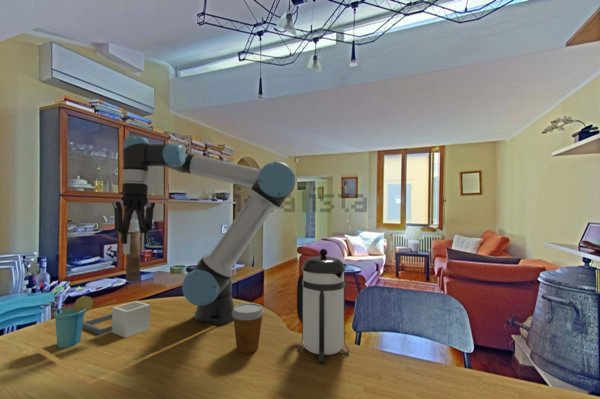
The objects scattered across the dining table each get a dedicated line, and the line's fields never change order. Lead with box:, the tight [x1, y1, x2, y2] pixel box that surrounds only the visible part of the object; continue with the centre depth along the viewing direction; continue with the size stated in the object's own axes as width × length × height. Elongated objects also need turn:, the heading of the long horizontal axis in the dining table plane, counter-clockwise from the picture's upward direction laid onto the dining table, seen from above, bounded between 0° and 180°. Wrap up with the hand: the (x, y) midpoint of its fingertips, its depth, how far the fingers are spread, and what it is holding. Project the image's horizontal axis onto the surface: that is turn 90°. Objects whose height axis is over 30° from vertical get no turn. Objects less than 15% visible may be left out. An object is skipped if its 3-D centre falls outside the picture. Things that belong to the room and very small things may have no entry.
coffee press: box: [296, 248, 350, 365], centre depth 86 cm, size 17×16×30 cm
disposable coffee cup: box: [232, 302, 265, 354], centre depth 87 cm, size 10×10×12 cm
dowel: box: [125, 231, 141, 283], centre depth 97 cm, size 4×4×16 cm
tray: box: [82, 313, 112, 336], centre depth 101 cm, size 12×12×2 cm
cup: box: [38, 295, 95, 349], centre depth 86 cm, size 14×8×15 cm, turn 161°
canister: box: [111, 300, 151, 338], centre depth 96 cm, size 8×8×9 cm
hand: (133, 252), depth 97 cm, fingers closed on dowel, 4 cm apart
